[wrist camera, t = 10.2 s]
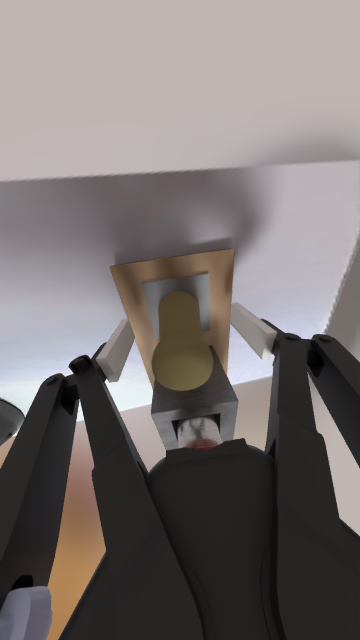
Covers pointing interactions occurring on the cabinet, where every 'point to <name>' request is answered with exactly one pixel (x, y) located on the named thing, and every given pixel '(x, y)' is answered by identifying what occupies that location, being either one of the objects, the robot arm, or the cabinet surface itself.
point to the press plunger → (198, 433)
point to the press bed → (178, 275)
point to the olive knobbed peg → (181, 344)
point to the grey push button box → (195, 405)
